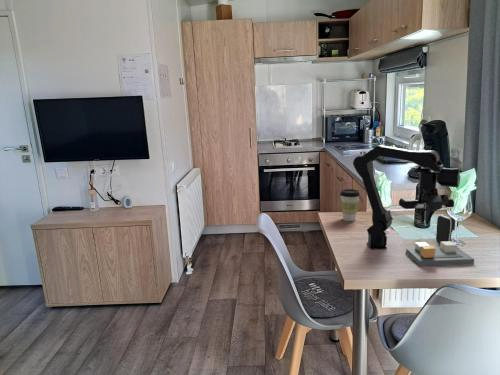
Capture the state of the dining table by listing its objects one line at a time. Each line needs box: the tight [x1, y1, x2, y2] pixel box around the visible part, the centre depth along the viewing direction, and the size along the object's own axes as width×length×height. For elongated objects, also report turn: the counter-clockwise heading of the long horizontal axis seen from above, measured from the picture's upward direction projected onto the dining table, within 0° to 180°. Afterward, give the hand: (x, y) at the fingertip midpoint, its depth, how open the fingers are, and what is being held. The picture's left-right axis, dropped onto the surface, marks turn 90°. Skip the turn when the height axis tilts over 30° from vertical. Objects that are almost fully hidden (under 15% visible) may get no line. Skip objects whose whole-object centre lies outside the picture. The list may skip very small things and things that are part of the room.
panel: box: [405, 246, 475, 267], centre depth 143 cm, size 20×12×2 cm, turn 91°
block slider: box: [420, 244, 435, 258], centre depth 140 cm, size 4×3×4 cm
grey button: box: [414, 241, 430, 254], centre depth 146 cm, size 4×4×3 cm
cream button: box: [439, 240, 457, 253], centre depth 146 cm, size 4×4×3 cm
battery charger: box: [435, 214, 456, 242], centre depth 158 cm, size 7×4×11 cm, turn 15°
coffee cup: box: [339, 188, 361, 222], centre depth 191 cm, size 10×10×15 cm
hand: (424, 224), depth 143 cm, fingers closed
